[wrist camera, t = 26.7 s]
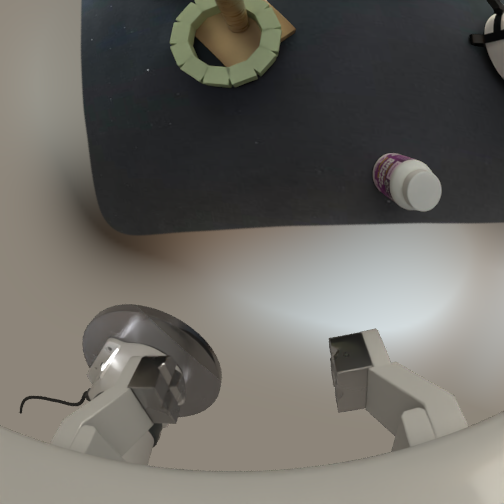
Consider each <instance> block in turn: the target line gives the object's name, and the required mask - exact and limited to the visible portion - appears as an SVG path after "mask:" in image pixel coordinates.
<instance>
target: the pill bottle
mask: <svg viewBox="0 0 504 504" xmlns="http://www.w3.org/2000/svg"><path fill="white" fill-rule="evenodd" d="M373 181H374V183H375V185H376V187H377V188H378V190H379V191H380V192H382V193H383V194H384V195H386V196H387V197H388V198H390V199H391V200H392V201H394V202H395V203H396V204H398V205H399V206H400V207H402V208H404V209H407V210H418V211H428V210H431V209H432V208H434V207H435V206H436V205H437V203H438V202H439V199H440V197H441V184H440V181H439V179H438V178H437V177H436V176H435V175H434V174H433V173H432V171H431V170H430V168H429V167H428V166H427V165H426V164H424V163H423V162H421V161H418V160H415V159H413V158H409V157H406V156H403V155H400V154H396V153H388V154H385V155H383V156H382V157H380V158H379V159H378V161H377V162H376V164H375V166H374V169H373Z"/></svg>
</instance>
